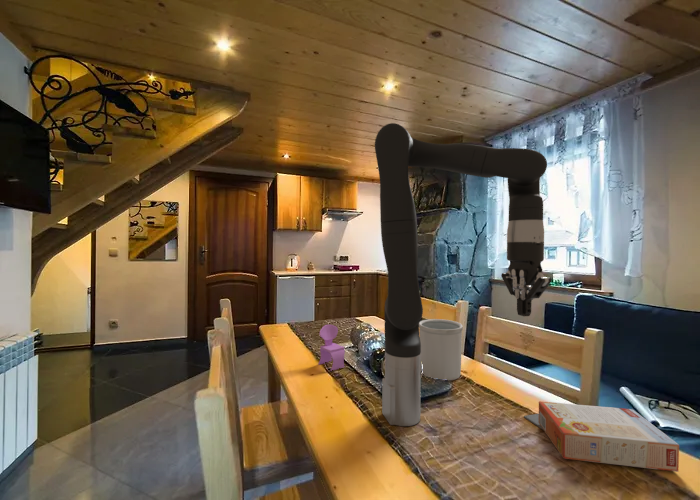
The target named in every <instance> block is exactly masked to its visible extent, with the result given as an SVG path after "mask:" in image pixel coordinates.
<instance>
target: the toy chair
mask: <svg viewBox="0 0 700 500" xmlns="http://www.w3.org/2000/svg"><path fill="white" fill-rule="evenodd" d="M338 332H339V328H338V326H336V325H333V324H331V323H330V324H325V325H323V326H322V328H321V329H320V331H319V333H318V334H319V337H320V338H321V339H322V340H324V345H320V348H319V351H320V359H319V361H318V364H317V365H323V364H326V363H325V362H327V363H329V361H330V362H332V366H331V368H330V372H333V371H336V370H339V368H340V369H343V368H345V363H344V362H345V361H344V358H345V353H346V350H345V346H342V345H339V344H338V343H336V342H333V340H334V339H336V338H337V336H338ZM332 370H333V371H332Z"/></svg>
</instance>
